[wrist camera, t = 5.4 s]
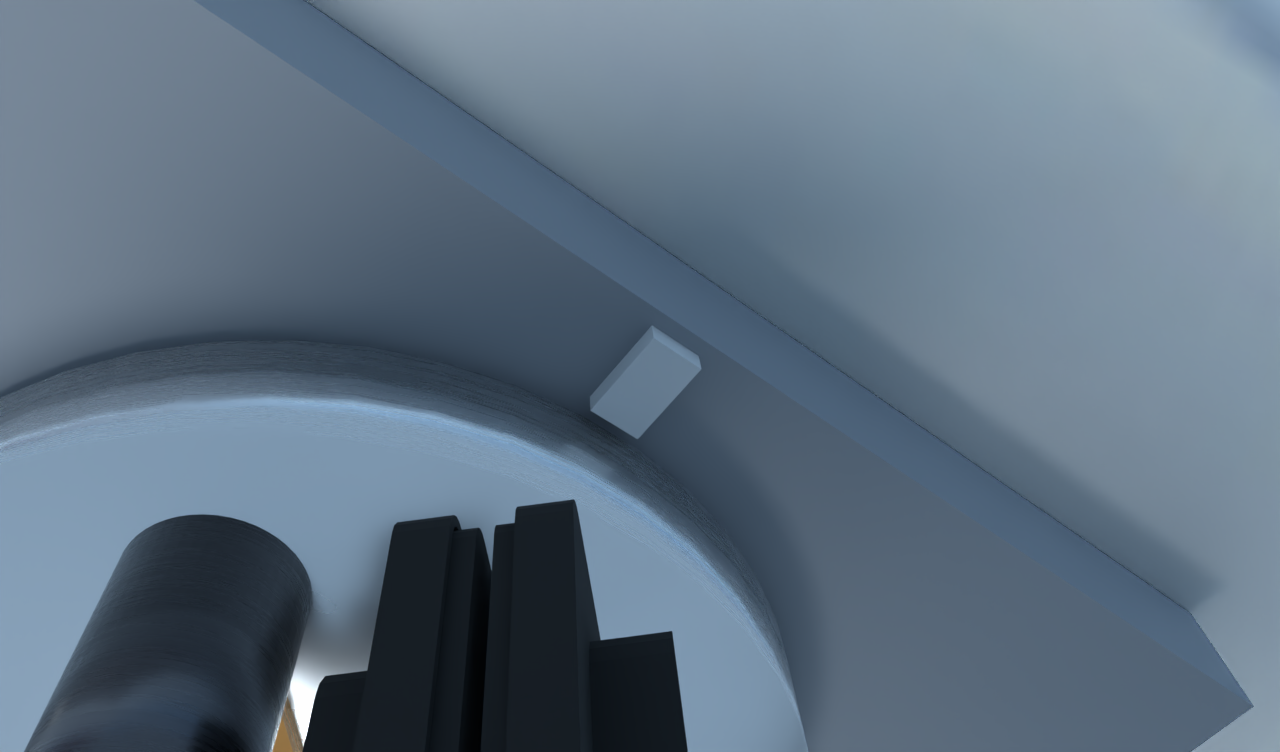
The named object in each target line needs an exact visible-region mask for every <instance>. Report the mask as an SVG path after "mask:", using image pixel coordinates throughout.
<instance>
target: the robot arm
mask: <svg viewBox="0 0 1280 752" xmlns="http://www.w3.org/2000/svg"><path fill="white" fill-rule="evenodd" d="M302 752H688V748H687V740H686V732H685V725H684V717H683V709H682V702H681V694H680V686H679V679H678V671H677V663H676V656H675V648H674V641H673V633H672V631H668V632H660V633H653V634H645V635H637V636H630V637H622V638H614V639H606V640H601V638H600V633H599V627H598V622H597V616H596V610H595V605H594V599H593V593H592V588H591V582H590V577H589V571H588V565H587V560H586V554H585V549H584V543H583V537H582V532H581V526H580V520H579V515H578V510H577V506H576V502H575V500H574V499H573V500H565V501H557V502H550V503H542V504H534V505H526V506H519V507H517V508H516V511H515V523H509V524H501V525H496V526H495V530H494V543H493V559H492V570H491V566H490V562H489V558H488V554H487V549H486V545H485V541H484V537H483V534H482V531H481V529H480V528H471V529H463V530H462V529H461V526H460V522H459V520H458V518H457V516H455V515H450V516H442V517H434V518H427V519H419V520H411V521H403V522H397V523H396V524H395V525H394V527H393V531H392V535H391V541H390V546H389V552H388V557H387V563H386V569H385V574H384V580H383V585H382V591H381V596H380V602H379V607H378V613H377V619H376V624H375V630H374V635H373V641H372V646H371V652H370V658H369V663H368V669H367V671H360V672H352V673H344V674H337V675H329V676H325V677H324V678H323V680H322V681H321V682H320V683H319V686H318V689H317V692H316V695H315V698H314V703H313V707H312V711H311V716H310V720H309V725H308V729H307V734H306V738H305V742H304V747H303V751H302Z"/></svg>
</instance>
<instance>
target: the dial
mask: <svg viewBox="0 0 1280 752" xmlns="http://www.w3.org/2000/svg"><path fill="white" fill-rule="evenodd" d="M573 499H574V500H575V502H576V506H577V510H578V515H579V520H580V526H581V532H582V537H583V543H584V549H585V554H586V560H587V565H588V571H589V577H590V582H591V588H592V593H593V599H594V605H595V610H596V616H597V622H598V627H599V633H600V638H601V640H606V639H614V638H622V637H630V636H637V635H645V634H653V633H660V632H668V631H672V633H673V641H674V648H675V656H676V663H677V671H678V679H679V686H680V694H681V702H682V709H683V717H684V725H685V732H686V740H687V748H688V752H809V751H808V747H807V743H806V738H805V734H804V730H803V725H802V721H801V717H800V713H799V708H798V704H797V700H796V695H795V691H794V687H793V682H792V678H791V674H790V670H789V665H788V661H787V657H786V654H785V650H784V646H783V642H782V639H781V635H780V631H779V627H778V624H777V620H776V617H775V615H774V613H773V610H772V608H771V606H770V604H769V602H768V600H767V598H766V595H765V593H764V591H763V589H762V587H761V585H760V583H759V580H758V578H757V576H756V574H755V572H754V571H753V569H752V568H751V567H750V565H749V564H748V562H747V561H746V559H745V558H744V556H743V555H742V553H741V552H740V551H739V549H738V548H737V546H736V545H735V543H734V542H733V540H732V539H731V537H730V536H729V535H728V533H727V532H726V530H725V529H724V528H723V527H722V526H721V525H720V524H719V523H718V522H717V521H716V519H715V518H714V517H713V516H712V515H711V514H710V513H709V512H708V511H707V510H706V509H705V508H704V507H703V506H702V505H701V504H700V502H699V501H698V500H697V499H696V498H695V497H694V496H693V495H692V494H691V493H690V492H689V491H688V490H687V489H686V488H685V487H684V486H683V485H682V484H680V483H679V482H678V481H677V480H675V479H674V478H673V477H672V476H670V475H669V474H668V473H667V472H665V471H664V470H663V469H662V468H660V467H659V466H658V465H657V464H655V463H654V462H653V461H652V460H650V459H649V458H648V457H647V456H645V455H644V454H643V453H642V452H640V451H639V450H638V449H636V448H635V447H633V446H631V445H630V444H628V443H626V442H625V441H623V440H622V439H620V438H618V437H617V436H615V435H613V434H612V433H610V432H608V431H607V430H605V429H603V428H602V427H600V426H598V425H597V424H595V423H594V422H592V421H590V420H589V419H587V418H585V417H584V416H582V415H580V414H578V413H576V412H574V411H572V410H569V409H567V408H565V407H563V406H560V405H558V404H556V403H554V402H552V401H549V400H547V399H545V398H543V397H541V396H538V395H536V394H534V393H532V392H530V391H527V390H525V389H523V388H521V387H518V386H516V385H514V384H510V383H507V382H504V381H501V380H498V379H495V378H492V377H489V376H485V375H482V374H479V373H476V372H473V371H470V370H467V369H463V368H460V367H457V366H454V365H451V364H448V363H445V362H440V361H435V360H430V359H425V358H420V357H415V356H410V355H405V354H400V353H395V352H390V351H385V350H380V349H376V348H371V347H362V346H351V345H340V344H328V343H317V342H306V341H295V340H273V341H228V342H207V343H200V344H193V345H186V346H178V347H171V348H164V349H157V350H149V351H142V352H135V353H132V354H128V355H124V356H120V357H117V358H113V359H109V360H105V361H101V362H98V363H94V364H90V365H86V366H83V367H79V368H75V369H71V370H67V371H64V372H62V373H59V374H57V375H54V376H52V377H49V378H47V379H45V380H42V381H40V382H37V383H35V384H32V385H30V386H28V387H25V388H23V389H20V390H18V391H15V392H13V393H10V394H8V395H6V396H3V397H1V398H0V752H302V751H303V747H304V742H305V738H306V734H307V729H308V725H309V720H310V716H311V711H312V707H313V703H314V698H315V695H316V692H317V689H318V686H319V683H320V682H321V681H322V680H323V678H324V677H325V676H329V675H337V674H344V673H352V672H360V671H367V669H368V663H369V658H370V652H371V646H372V641H373V635H374V630H375V624H376V619H377V613H378V607H379V602H380V596H381V591H382V585H383V580H384V574H385V569H386V563H387V557H388V552H389V546H390V541H391V535H392V531H393V527H394V525H395V524H396V523H397V522H403V521H411V520H419V519H427V518H434V517H442V516H450V515H455V516H457V518H458V520H459V522H460V526H461V529H462V530H463V529H471V528H480V529H481V531H482V534H483V537H484V541H485V545H486V549H487V554H488V558H489V562H490V566H491V570H492V559H493V543H494V530H495V526H496V525H501V524H509V523H515V511H516V508H517V507H519V506H526V505H534V504H542V503H550V502H557V501H565V500H573Z"/></svg>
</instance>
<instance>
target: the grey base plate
mask: <svg viewBox="0 0 1280 752" xmlns="http://www.w3.org/2000/svg"><path fill="white" fill-rule="evenodd" d="M273 340H295V341H306V342H317V343H328V344H340V345H351V346H362V347H371V348H376V349H380V350H385V351H390V352H395V353H400V354H405V355H410V356H415V357H420V358H425V359H430V360H435V361H440V362H445V363H448V364H451V365H454V366H457V367H460V368H463V369H467V370H470V371H473V372H476V373H479V374H482V375H485V376H489V377H492V378H495V379H498V380H501V381H504V382H507V383H510V384H514V385H516V386H518V387H521V388H523V389H525V390H527V391H530V392H532V393H534V394H536V395H538V396H541V397H543V398H545V399H547V400H549V401H552V402H554V403H556V404H558V405H560V406H563V407H565V408H567V409H569V410H572V411H574V412H576V413H578V414H580V415H582V416H584V417H585V418H587V419H589V420H590V421H592V422H594V423H595V424H597V425H598V426H600V427H602V428H603V429H605V430H607V431H608V432H610V433H612V434H613V435H615V436H617V437H618V438H620V439H622V440H623V441H625V442H626V443H628V444H630V445H631V446H633V447H635V448H636V449H638V450H639V451H640V452H642V453H643V454H644V455H645V456H647V457H648V458H649V459H650V460H652V461H653V462H654V463H655V464H657V465H658V466H659V467H660V468H662V469H663V470H664V471H665V472H667V473H668V474H669V475H670V476H672V477H673V478H674V479H675V480H677V481H678V482H679V483H680V484H682V485H683V486H684V487H685V488H686V489H687V490H688V491H689V492H690V493H691V494H692V495H693V496H694V497H695V498H696V499H697V500H698V501H699V502H700V504H701V505H702V506H703V507H704V508H705V509H706V510H707V511H708V512H709V513H710V514H711V515H712V516H713V517H714V518H715V519H716V521H717V522H718V523H719V524H720V525H721V526H722V527H723V528H724V529H725V530H726V532H727V533H728V535H729V536H730V537H731V539H732V540H733V542H734V543H735V545H736V546H737V548H738V549H739V551H740V552H741V553H742V555H743V556H744V558H745V559H746V561H747V562H748V564H749V565H750V567H751V568H752V569H753V571H754V572H755V574H756V576H757V578H758V580H759V583H760V585H761V587H762V589H763V591H764V593H765V595H766V598H767V600H768V602H769V604H770V606H771V608H772V610H773V613H774V615H775V617H776V620H777V624H778V627H779V631H780V635H781V639H782V642H783V646H784V650H785V654H786V657H787V661H788V665H789V670H790V674H791V678H792V682H793V687H794V691H795V695H796V700H797V704H798V708H799V713H800V717H801V721H802V725H803V730H804V734H805V738H806V743H807V747H808V751H809V752H1191V751H1192V750H1194V749H1195V748H1196V747H1198V746H1199V745H1201V744H1202V743H1203V742H1205V741H1206V740H1207V739H1209V738H1210V737H1212V736H1213V735H1214V734H1216V733H1217V732H1219V731H1220V730H1221V729H1223V728H1224V727H1226V726H1227V725H1228V724H1230V723H1231V722H1233V721H1234V720H1235V719H1237V718H1238V717H1239V716H1241V715H1242V714H1244V713H1245V712H1246V711H1248V710H1249V709H1251V708H1252V707H1253V705H1252V703H1251V702H1250V700H1249V699H1248V697H1247V696H1246V694H1245V693H1244V691H1243V690H1242V688H1241V687H1240V685H1239V684H1238V682H1237V681H1236V679H1235V678H1234V677H1233V675H1232V674H1231V672H1230V671H1229V669H1228V668H1227V666H1226V665H1225V663H1224V662H1223V660H1222V659H1221V657H1220V656H1219V654H1218V653H1217V651H1216V650H1215V648H1214V647H1213V645H1212V644H1211V642H1210V641H1209V640H1208V638H1207V637H1206V635H1205V634H1204V632H1203V631H1202V629H1201V628H1200V626H1199V625H1198V623H1197V622H1196V620H1195V619H1194V617H1193V616H1192V614H1191V613H1189V612H1188V611H1186V610H1185V609H1183V608H1182V607H1181V606H1179V605H1178V604H1176V603H1175V602H1173V601H1172V600H1170V599H1169V598H1168V597H1166V596H1165V595H1163V594H1162V593H1160V592H1159V591H1157V590H1156V589H1155V588H1153V587H1152V586H1150V585H1149V584H1147V583H1146V582H1144V581H1143V580H1142V579H1140V578H1139V577H1137V576H1136V575H1134V574H1133V573H1131V572H1130V571H1129V570H1127V569H1126V568H1124V567H1123V566H1121V565H1120V564H1118V563H1117V562H1116V561H1114V560H1113V559H1111V558H1110V557H1108V556H1107V555H1105V554H1104V553H1103V552H1101V551H1100V550H1098V549H1097V548H1095V547H1094V546H1092V545H1091V544H1090V543H1088V542H1087V541H1085V540H1084V539H1082V538H1081V537H1079V536H1078V535H1076V534H1075V533H1074V532H1072V531H1071V530H1069V529H1068V528H1066V527H1065V526H1063V525H1062V524H1061V523H1059V522H1058V521H1056V520H1055V519H1053V518H1052V517H1050V516H1049V515H1048V514H1046V513H1045V512H1043V511H1042V510H1040V509H1039V508H1037V507H1036V506H1035V505H1033V504H1032V503H1030V502H1029V501H1027V500H1026V499H1024V498H1023V497H1022V496H1020V495H1019V494H1017V493H1016V492H1014V491H1013V490H1011V489H1010V488H1009V487H1007V486H1006V485H1004V484H1003V483H1001V482H1000V481H998V480H997V479H996V478H994V477H993V476H991V475H990V474H988V473H987V472H985V471H984V470H983V469H981V468H980V467H978V466H977V465H975V464H974V463H972V462H971V461H970V460H968V459H967V458H965V457H964V456H962V455H961V454H959V453H958V452H956V451H955V450H954V449H952V448H951V447H949V446H948V445H946V444H945V443H943V442H942V441H941V440H939V439H938V438H936V437H935V436H933V435H932V434H930V433H929V432H928V431H926V430H925V429H923V428H922V427H920V426H919V425H917V424H916V423H915V422H913V421H912V420H910V419H909V418H907V417H906V416H904V415H903V414H902V413H900V412H899V411H897V410H896V409H894V408H893V407H891V406H890V405H889V404H887V403H886V402H884V401H883V400H881V399H880V398H878V397H877V396H876V395H874V394H873V393H871V392H870V391H868V390H867V389H865V388H864V387H863V386H861V385H860V384H858V383H857V382H855V381H854V380H852V379H851V378H850V377H848V376H847V375H845V374H844V373H842V372H841V371H839V370H838V369H836V368H835V367H834V366H832V365H831V364H829V363H828V362H826V361H825V360H823V359H822V358H821V357H819V356H818V355H816V354H815V353H813V352H812V351H810V350H809V349H808V348H806V347H805V346H803V345H802V344H800V343H799V342H797V341H796V340H795V339H793V338H792V337H790V336H789V335H787V334H786V333H784V332H783V331H782V330H780V329H779V328H777V327H776V326H774V325H773V324H771V323H770V322H769V321H767V320H766V319H764V318H763V317H761V316H760V315H758V314H757V313H756V312H754V311H753V310H751V309H750V308H748V307H747V306H745V305H744V304H743V303H741V302H740V301H738V300H737V299H735V298H734V297H732V296H731V295H729V294H728V293H727V292H725V291H724V290H722V289H721V288H719V287H718V286H716V285H715V284H714V283H712V282H711V281H709V280H708V279H706V278H705V277H703V276H702V275H701V274H699V273H698V272H696V271H695V270H693V269H692V268H690V267H689V266H688V265H686V264H685V263H683V262H682V261H680V260H679V259H677V258H676V257H675V256H673V255H672V254H670V253H669V252H667V251H666V250H664V249H663V248H662V247H660V246H659V245H657V244H656V243H654V242H653V241H651V240H650V239H649V238H647V237H646V236H644V235H643V234H641V233H640V232H638V231H637V230H636V229H634V228H633V227H631V226H630V225H628V224H627V223H625V222H624V221H623V220H621V219H620V218H618V217H617V216H615V215H614V214H612V213H611V212H609V211H608V210H607V209H605V208H604V207H602V206H601V205H599V204H598V203H596V202H595V201H594V200H592V199H591V198H589V197H588V196H586V195H585V194H583V193H582V192H581V191H579V190H578V189H576V188H575V187H573V186H572V185H570V184H569V183H568V182H566V181H565V180H563V179H562V178H560V177H559V176H557V175H556V174H555V173H553V172H552V171H550V170H549V169H547V168H546V167H544V166H543V165H542V164H540V163H539V162H537V161H536V160H534V159H533V158H531V157H530V156H529V155H527V154H526V153H524V152H523V151H521V150H520V149H518V148H517V147H516V146H514V145H513V144H511V143H510V142H508V141H507V140H505V139H504V138H503V137H501V136H500V135H498V134H497V133H495V132H494V131H492V130H491V129H489V128H488V127H487V126H485V125H484V124H482V123H481V122H479V121H478V120H476V119H475V118H474V117H472V116H471V115H469V114H468V113H466V112H465V111H463V110H462V109H461V108H459V107H458V106H456V105H455V104H453V103H452V102H450V101H449V100H448V99H446V98H445V97H443V96H442V95H440V94H439V93H437V92H436V91H435V90H433V89H432V88H430V87H429V86H427V85H426V84H424V83H423V82H422V81H420V80H419V79H417V78H416V77H414V76H413V75H411V74H410V73H409V72H407V71H406V70H404V69H403V68H401V67H400V66H398V65H397V64H396V63H394V62H393V61H391V60H390V59H388V58H387V57H385V56H384V55H382V54H381V53H380V52H378V51H377V50H375V49H374V48H372V47H371V46H369V45H368V44H367V43H365V42H364V41H362V40H361V39H359V38H358V37H356V36H355V35H354V34H352V33H351V32H349V31H348V30H346V29H345V28H343V27H342V26H341V25H339V24H338V23H336V22H335V21H333V20H332V19H330V18H329V17H328V16H326V15H325V14H323V13H322V12H320V11H319V10H317V9H316V8H315V7H313V6H312V5H310V4H309V3H307V2H306V1H304V0H0V398H1V397H3V396H6V395H8V394H10V393H13V392H15V391H18V390H20V389H23V388H25V387H28V386H30V385H32V384H35V383H37V382H40V381H42V380H45V379H47V378H49V377H52V376H54V375H57V374H59V373H62V372H64V371H67V370H71V369H75V368H79V367H83V366H86V365H90V364H94V363H98V362H101V361H105V360H109V359H113V358H117V357H120V356H124V355H128V354H132V353H135V352H142V351H149V350H157V349H164V348H171V347H178V346H186V345H193V344H200V343H207V342H228V341H273Z"/></svg>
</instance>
